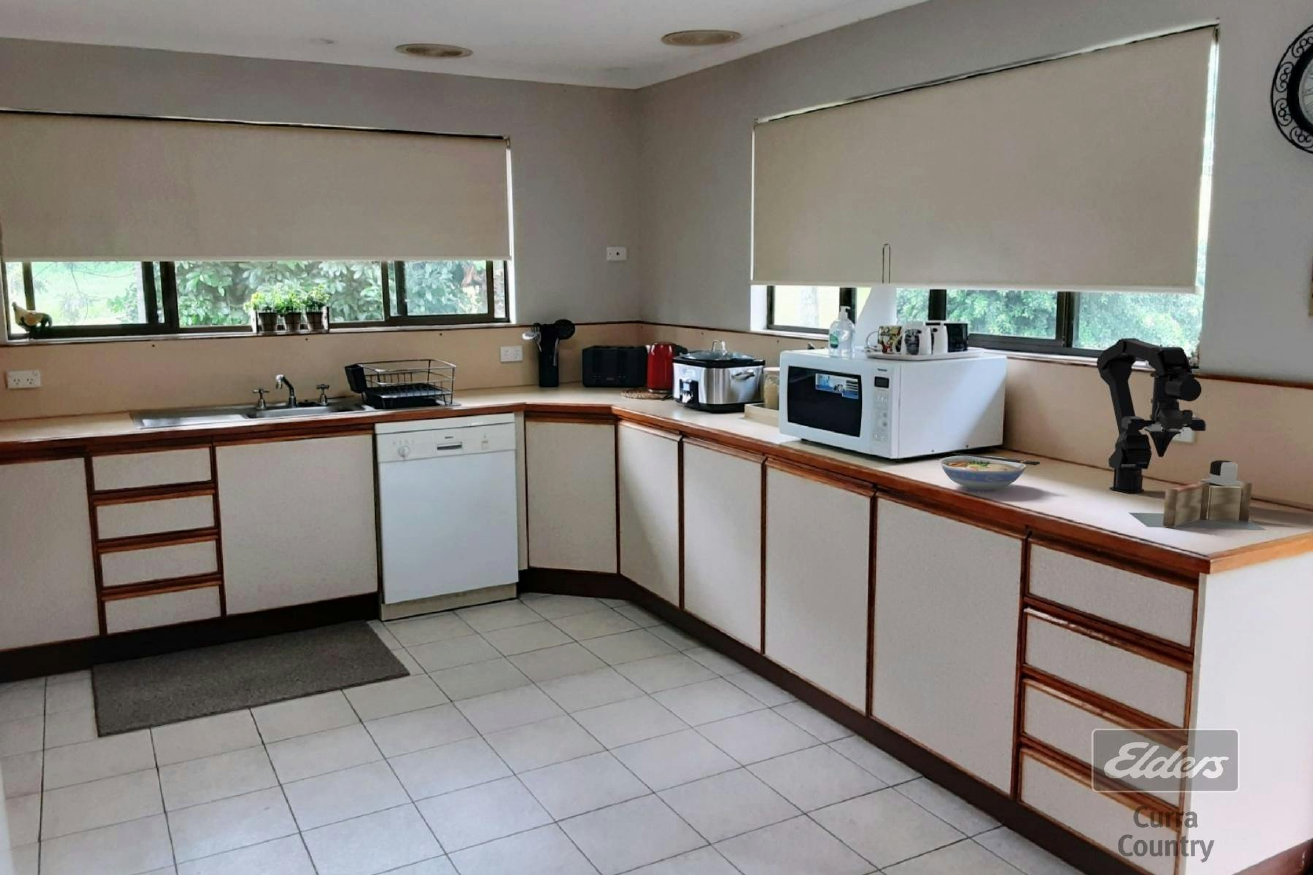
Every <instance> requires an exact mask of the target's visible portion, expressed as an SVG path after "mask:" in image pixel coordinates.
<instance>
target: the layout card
mask: <svg viewBox="0 0 1313 875" xmlns="http://www.w3.org/2000/svg"><path fill="white" fill-rule="evenodd" d="M1128 514H1129V515H1131V517H1134V519H1136V520H1138V521H1139V522H1140V523H1141V524H1143V525H1144V526H1146V527H1147V528H1169V529H1171V528H1172V529H1174V528H1175V529H1206V530H1207V529H1210V530H1214V529H1215V530H1246V531H1249V530H1250V531H1254V530H1255V531H1267V529H1266V528H1265V527H1262V526H1260V525H1258V524H1257V523H1256V522H1253V521H1251V519H1250V520H1249V521H1230V520H1209V519H1207V517H1206V520H1194V521H1190V522H1186V523H1182V524H1178V525H1175V526H1174V527H1168V526H1164V525H1163V518H1164V512H1163V513H1162V512H1159V513H1158V512H1128Z"/></svg>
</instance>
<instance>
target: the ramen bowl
mask: <svg viewBox="0 0 1313 875" xmlns="http://www.w3.org/2000/svg"><path fill="white" fill-rule="evenodd" d="M951 454H953V455H955V456H949V457H944V458H942V459H939V462H940V463H939V464H940V466H941V468H942V470H943V472H944V473H945V474H946V476H947V477H948V479H949V480H951V481H952V482H954V483H956V484H958V485H960V486H962V487H965V488H966V489H967V490H969V491H973V492H978V491H980V492H982V493H983V491H984V493H987V492H986V491H991V492H994V491H996V490H998V489H1002V488H1005V487H1008V486H1009V485H1011V484H1013V483H1015V481H1017V480H1018V478H1019V479H1020V477H1021V475H1022V474H1023V473H1024V471H1025V470H1026V468H1027V465H1029V466H1037V465H1038V466H1039V465H1040V463H1041V462H1040V461H1035V460H1034V461H1033V460H1024V459H1013V458H1006V457H1003V456H1002V457H1000V456H990V455H976V454H966V453H958V452H957V453H956V452H952V453H951ZM980 492H979V493H980Z"/></svg>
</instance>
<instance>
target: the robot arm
mask: <svg viewBox="0 0 1313 875" xmlns="http://www.w3.org/2000/svg"><path fill="white" fill-rule="evenodd" d="M1138 359H1141V360H1144V361H1147V365H1148V366H1150V367H1151V368H1152V369H1154V371H1152V372H1151V373H1150V374H1149V376H1150V378H1153V389H1152V391H1153V392H1152V398H1151V399H1150V403H1151V414H1150V415H1149V419H1145V418H1143V417H1141V416H1138V415H1137V416H1136V412H1135V407H1134V403H1133V398H1132V393H1131V389H1130V385H1129V384H1130V383H1129V379H1130V377H1131V375H1132V373H1133V365H1134V364H1135V363H1136V362H1137V360H1138ZM1096 368H1097V370H1098V374H1099V376H1100V378H1101V379H1102V380H1103V382H1104V383H1106V384H1107V385H1108V388H1109V392H1110V397H1111V402H1112V406H1113V412H1114V416H1115V421H1116V425H1117V431H1118V437H1117V439H1116V440H1115V443H1114V448H1115V450H1114V451H1113V453H1112V454H1111V455H1110V457H1109V458H1108V466H1109V468H1111V469H1113V470H1114V471H1113V482H1112V486H1110V487H1109V488H1108V489H1109V490H1112V491H1117V492H1120V493H1122V492H1123V493H1127V494H1134V493H1135V494H1136V493H1139V492H1144V491H1145V489H1144V488H1143V481H1144V475H1143V470H1148V469H1149V466H1150V462H1151V459H1152V455H1153V452H1152V446H1151V443H1150V438H1151V439H1152V442H1153V445H1154V447H1155V452H1156V454H1157V456H1158V457H1159V458H1163V457H1164V455H1165V454H1166V451H1167V450H1168V447H1169V445H1170V443H1171V441H1172V440H1173V439H1174V437H1176V436H1177V435H1180V434H1181V435H1182V431H1180V430H1183V429H1184V428H1189V429H1190V430H1192V432H1205V431H1206V430H1207V428H1206V427H1207V423H1206V421H1205V420H1204V419H1202V418H1201V417H1200V418H1199V417H1197V416H1195V417H1194V416H1193V415H1194V414H1193V410H1192V409H1183V410H1180V401H1184V402H1189V403H1190V402H1194V401H1196V400H1197V399H1198V398H1199V397H1200V396H1201V393H1202V389H1203V388H1202V385H1201V383H1200V381H1199V380H1197V379H1195V378H1196V374H1195V373H1193V371H1192V369H1193V367H1192V365H1191V364H1190V362H1189V358H1188V357H1187V354H1186V352H1185V350H1184V348H1183V347H1181V346H1159V345H1156V344H1152V343H1149V342H1146V341H1144V340H1140V339H1139V338H1136V337H1131V338H1130V337H1128V338H1127V337H1126V338H1125V337H1124V338H1119V339H1118V340H1117V341H1116V342H1115V343H1114V344H1113V345H1111V346H1109V347H1107V348H1106V349H1104V350H1103V351H1102V353H1101V354H1100V355H1099V356H1098V358H1097V359H1096ZM1178 400H1179V401H1178ZM1143 429H1144V431H1145V432H1148V433H1149V435H1150V437H1149V435H1148V434H1147V433H1142V432H1141V431H1142V430H1143Z"/></svg>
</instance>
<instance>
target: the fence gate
mask: <svg viewBox="0 0 1313 875" xmlns="http://www.w3.org/2000/svg"><path fill="white" fill-rule="evenodd" d="M1202 488H1203V485H1202V484H1198V483H1192V484H1187V485H1183V486H1182V485H1181V486H1179V487H1174V488H1170V487H1169V488H1168V487H1167V488H1165V492H1164V493H1165V496H1164V508H1163V513H1164V518H1163V525H1164V526H1168V527H1174V526H1175V525H1178V524H1182V523H1186V522H1190V521H1194V520H1198V519H1200V510H1201V498H1202Z"/></svg>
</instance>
